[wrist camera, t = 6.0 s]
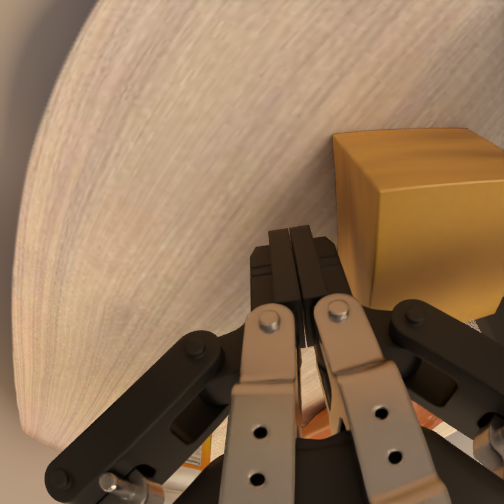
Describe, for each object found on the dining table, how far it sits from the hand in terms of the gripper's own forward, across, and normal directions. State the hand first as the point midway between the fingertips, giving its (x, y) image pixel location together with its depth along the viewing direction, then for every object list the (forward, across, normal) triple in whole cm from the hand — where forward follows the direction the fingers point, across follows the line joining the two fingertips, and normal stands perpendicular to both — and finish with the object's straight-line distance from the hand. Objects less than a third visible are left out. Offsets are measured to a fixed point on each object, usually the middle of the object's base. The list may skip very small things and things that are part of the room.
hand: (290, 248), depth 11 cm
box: (+2, -6, 0) cm, 6 cm away
